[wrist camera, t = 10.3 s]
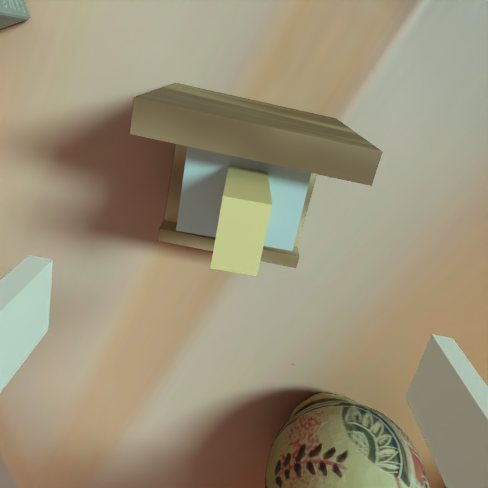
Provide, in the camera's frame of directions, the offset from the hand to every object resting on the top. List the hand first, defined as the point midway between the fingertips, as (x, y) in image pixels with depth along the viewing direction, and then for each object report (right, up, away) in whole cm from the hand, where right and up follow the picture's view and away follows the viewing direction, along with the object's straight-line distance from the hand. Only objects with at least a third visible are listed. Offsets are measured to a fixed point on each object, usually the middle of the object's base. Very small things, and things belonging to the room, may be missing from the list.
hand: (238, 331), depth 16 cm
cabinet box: (0, +8, +20) cm, 22 cm away
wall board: (0, +10, +25) cm, 27 cm away
